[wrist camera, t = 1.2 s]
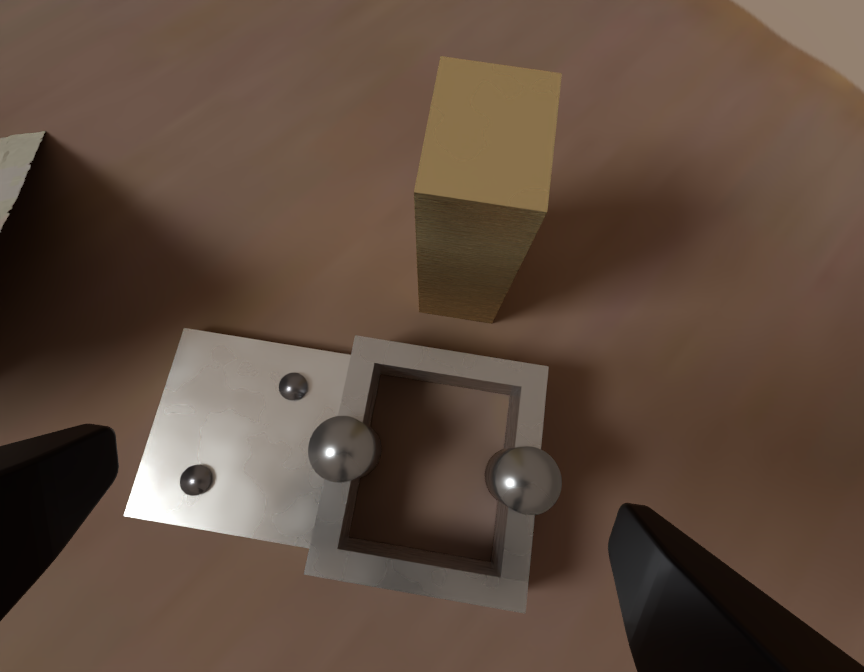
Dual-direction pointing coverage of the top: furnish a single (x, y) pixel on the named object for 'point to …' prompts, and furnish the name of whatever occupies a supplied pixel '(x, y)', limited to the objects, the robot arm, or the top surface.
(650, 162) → the top surface
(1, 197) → the pale grey slotted block
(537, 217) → the tan rectangular pillar
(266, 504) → the hinge base
